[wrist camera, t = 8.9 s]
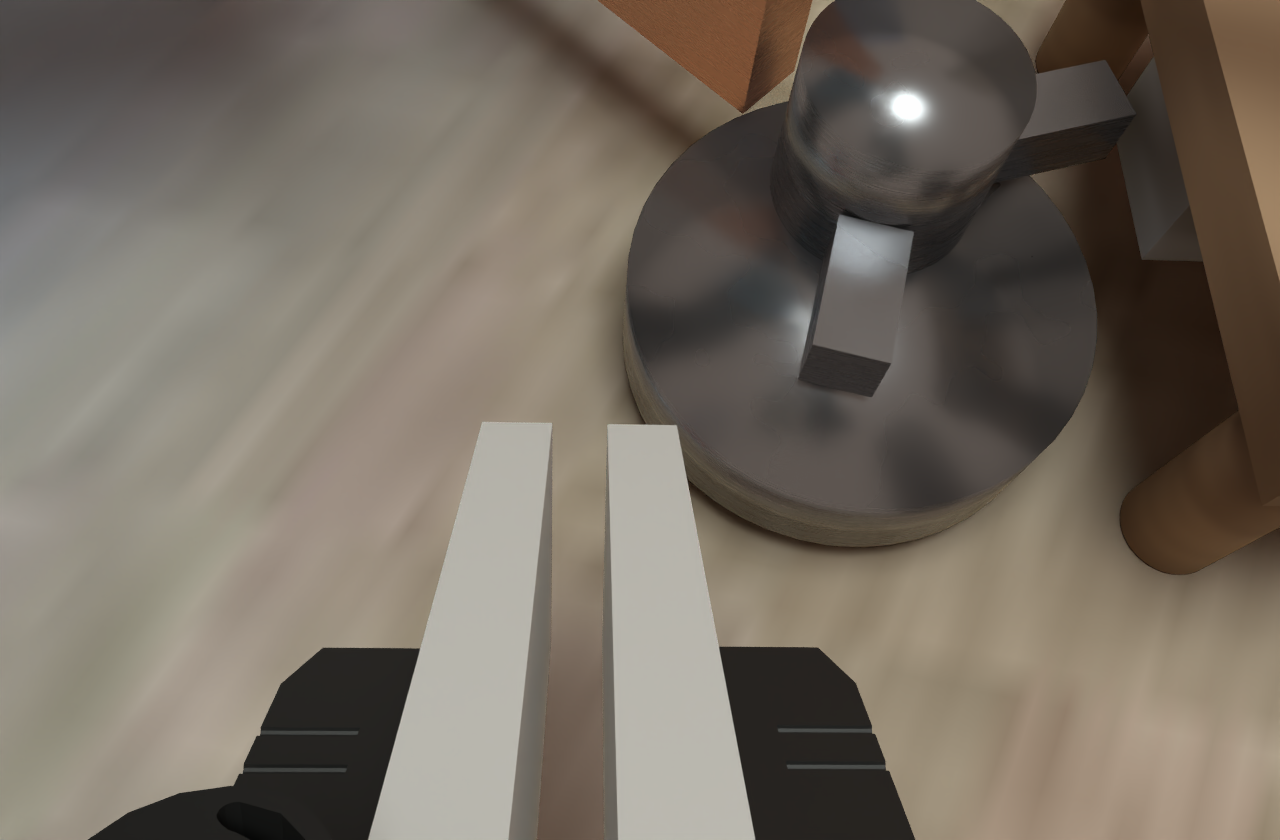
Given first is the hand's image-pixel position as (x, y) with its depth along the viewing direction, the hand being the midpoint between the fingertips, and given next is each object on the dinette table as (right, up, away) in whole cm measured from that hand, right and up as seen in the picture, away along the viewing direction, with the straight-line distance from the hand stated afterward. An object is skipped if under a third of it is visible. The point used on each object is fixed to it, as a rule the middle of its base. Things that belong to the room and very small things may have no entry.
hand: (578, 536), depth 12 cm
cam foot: (+2, +6, +9) cm, 11 cm away
